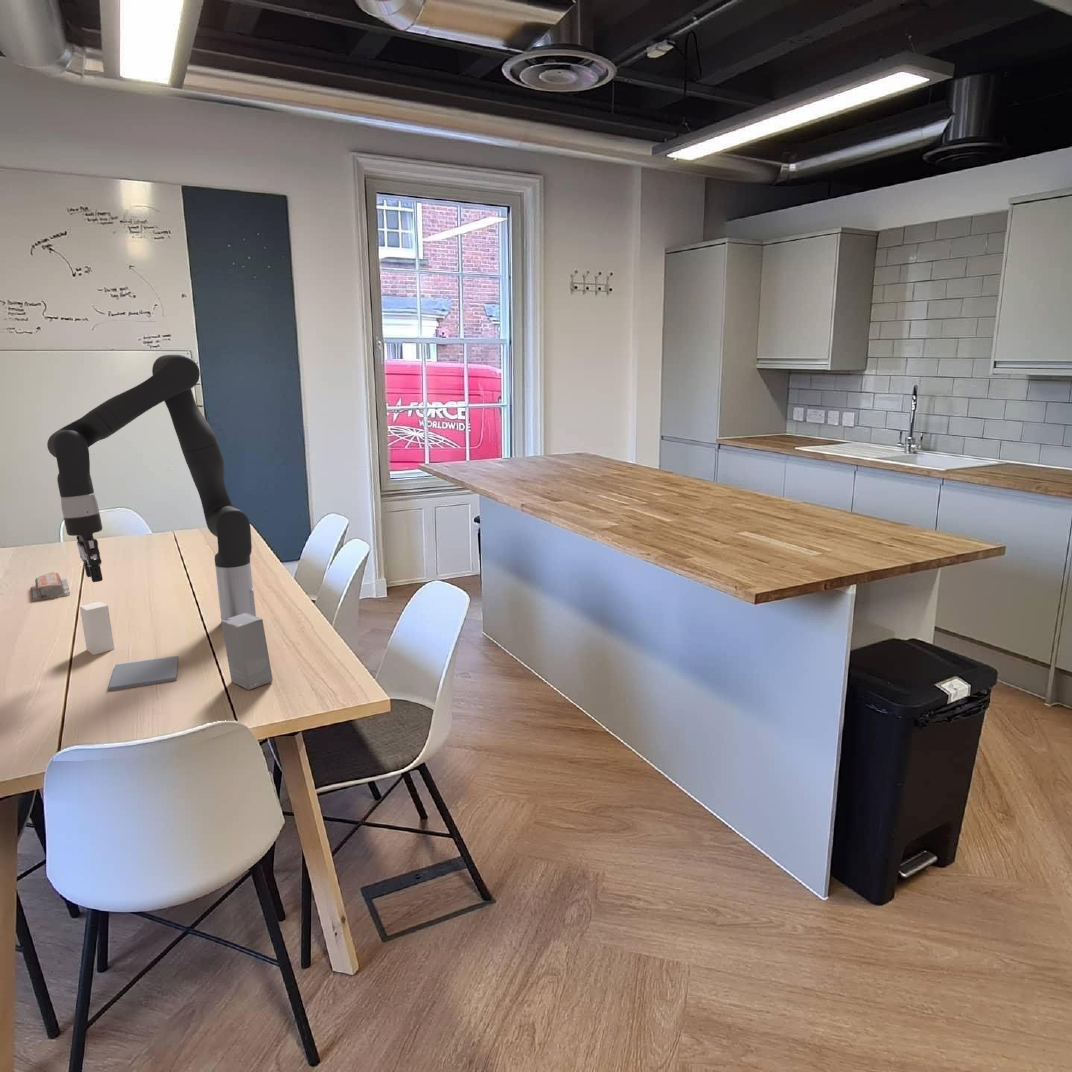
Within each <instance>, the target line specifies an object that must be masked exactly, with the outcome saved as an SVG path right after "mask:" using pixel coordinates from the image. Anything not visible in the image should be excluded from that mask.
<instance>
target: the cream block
mask: <svg viewBox="0 0 1072 1072" xmlns="http://www.w3.org/2000/svg"><path fill="white" fill-rule="evenodd" d="M79 610H80V617H81V624H82V628H83V635H84V642H85V647H86V651H88V652H89V653H90V654H92V655H93V656H94V655H97V654H98V655H99V654H101V653H106V652H109V651H110V652H111V651H113V650H115V644H114V637H113V630H112V622H111V617H110V610H109V605H108V604H106V603H104V602H103V601H101V600H100V601H95V602H92V603H87V604H84V605H79Z"/></svg>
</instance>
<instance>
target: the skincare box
mask: <svg viewBox="0 0 1072 1072" xmlns="http://www.w3.org/2000/svg"><path fill="white" fill-rule="evenodd" d="M220 620H221V619H220ZM263 620H264V619H263V618H260V617H258V616H256V617H255V616H253V615H250V614H248V613H243V614H240V615H237V616H234V617H231V618H228V619H224V620H221V621H220V624H221V629H222V635H223V640H224V646H225V653H226V658H227V662H228V667H229V675H230V681H231V682H232V683H234V684H236V685H238V686H239V687H242V688H244V689H245V690H248V691H251V690H253V689H255V688H258V687H260V686H264V685H266V684H270V683H273V680H274V679H273V673H272V667H271V661H270V657H269V656H270V655H269V650H268V644H267V639H266V634H265V633H266V631H265V627H264V621H263Z"/></svg>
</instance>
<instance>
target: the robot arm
mask: <svg viewBox="0 0 1072 1072" xmlns="http://www.w3.org/2000/svg"><path fill="white" fill-rule="evenodd" d="M151 371H152V373H151V374H152V375H151V376H150V377H148V379H147V378H146V380H144V381H143V382H141V383H139V384H137V385H135V386H134V387H131V388H130V389H127V390H125V391H123V392H122V393H119V394H117V395H115V396H112V397H110V398H109V399H107V400H106V401H103V402H102V403H100V404H99V405H97V406H96V407H95V408H92V410H90V411H88V412H87V413H86V414H85V415H83V416H81V417H80V418H78V419H76V420H75V421H73V422H71V423H68V424H66V425H65V426H63V427H62V428H59V429H58V430H57V431H55V432H53V433H52V434H51V435H50V436H49V438H48V440H47V444H46V445H47V450H48V452H49V453H50V454H51V456H53V457H54V458H55V459H56V462H57V463H56V464H57V468H58V474H57V477H56V479H57V480H56V481H57V487H58V490H59V496H60V503H61V505H60V506H61V511H62V516H63V520H64V521H63V522H64V525H65V526H64V527H65V530H66V534H67V536H72V537H75V536H76V540H77V541H76V547H77V549H78V553H79V557H80V558H81V562H82V563H83V565H84V569H85V570H84V571H85V576H86V577H87V578H90V579H91V582H92V583H98V582H102V581H103V575H102V569H101V564H102V559H101V553H100V549H99V542H98V540H97V539H96V538H95V537H94V536H93V535H94V534H95V533H100V532H101V531H102V530H103V524H102V523H103V522H102V519H101V513H100V509H99V503H98V499H97V498H96V494H95V490H94V485H93V481H92V477H91V465H90V464H91V463H90V462H91V461H90V450H89V448H90V447H91V446H92V445H94V444H95V443H97V442H100V441H103V440H105V439H107V438H109V437H110V436H112V435H113V434H115V433H117V432H118V431H120V430H122V428H124V427H125V426H128V424H130V423H131V422H133V421H135V420H136V419H137V418H138V417H140V416H141V415H143V414H145V413H146V412H148V411H149V410H151V409H152V408H154V407H156V406H157V405H159V404H162V402H164V403H165V406H166V407H167V410H168V412H169V415H170V418H171V421H172V425H173V428H174V431H175V433H176V437H177V439H178V442H179V445H180V449H181V452H182V455H183V457H184V460H185V463H186V465H187V467H188V470H189V472H190V475H191V478H192V480H193V483H194V485H195V487H196V489H197V492H198V496H199V499H200V502H201V507H202V511H203V515H204V519H205V523H206V526H207V529H208V531H209V532H210V533H211V534H212V535H213V536H215V537H216V538H217V548H218V549H217V553H216V554H214V567H215V573H216V582H217V583H216V585H217V593H218V594H217V595H218V601H219V610H220V611H219V613H220V620H224V619H228V618H231V617H234V616H237V615H240V614H243V613H248V614H250V615H253V616H255V617H257V613H256V604H255V603H256V601H255V593H254V585H253V576H252V566H251V555H252V549H253V548H252V547H253V545H252V529H251V522H250V519H249V517H248V515H247V514H246V513H245V512H244V511H242V510H241V509H238V508H236V507H234V505H233V503H232V501H231V498H230V496H229V494H228V492H227V489H226V483H225V462H224V456H223V453H222V450H221V448H220V447H221V446H220V444H219V441H218V439H217V436H216V433H215V432H214V430H213V428H212V427H211V425H210V424H209V422H208V420H207V419H206V418H205V416H204V415H203V413H202V412H201V410H200V409H199V407H198V405H197V402H196V400H195V397H194V394H193V390H192V388H194V387H195V386H196V385H197V383H198V382H199V379H200V374H201V373H200V368H199V366H198V364H197V363H196V361H195V360H194V359H192V358H191V357H189V356H186V355H182V354H164V355H162V356H161V355H160V356H159V357H158V358H156V360H155V361H154V362H153V365H152V369H151Z"/></svg>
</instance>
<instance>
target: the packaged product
mask: <svg viewBox="0 0 1072 1072" xmlns="http://www.w3.org/2000/svg"><path fill="white" fill-rule="evenodd" d="M34 582H35V584H32V585H31V588H32V589H31V590H32V597H33V598H32V599H33V602H37V601H38V602H39V601H44V599H45V600H50V598H51V599H56V598H62V597H63V598H64V597H69V596H71V595H70V594H71V591H70V587H69V584H68V583H69V582H68V579H67V578H61V576H60V574H59V572H54V571H53V572H48V573H45V574H43V575H39V576H37V577H36V578H35V580H34Z"/></svg>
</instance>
